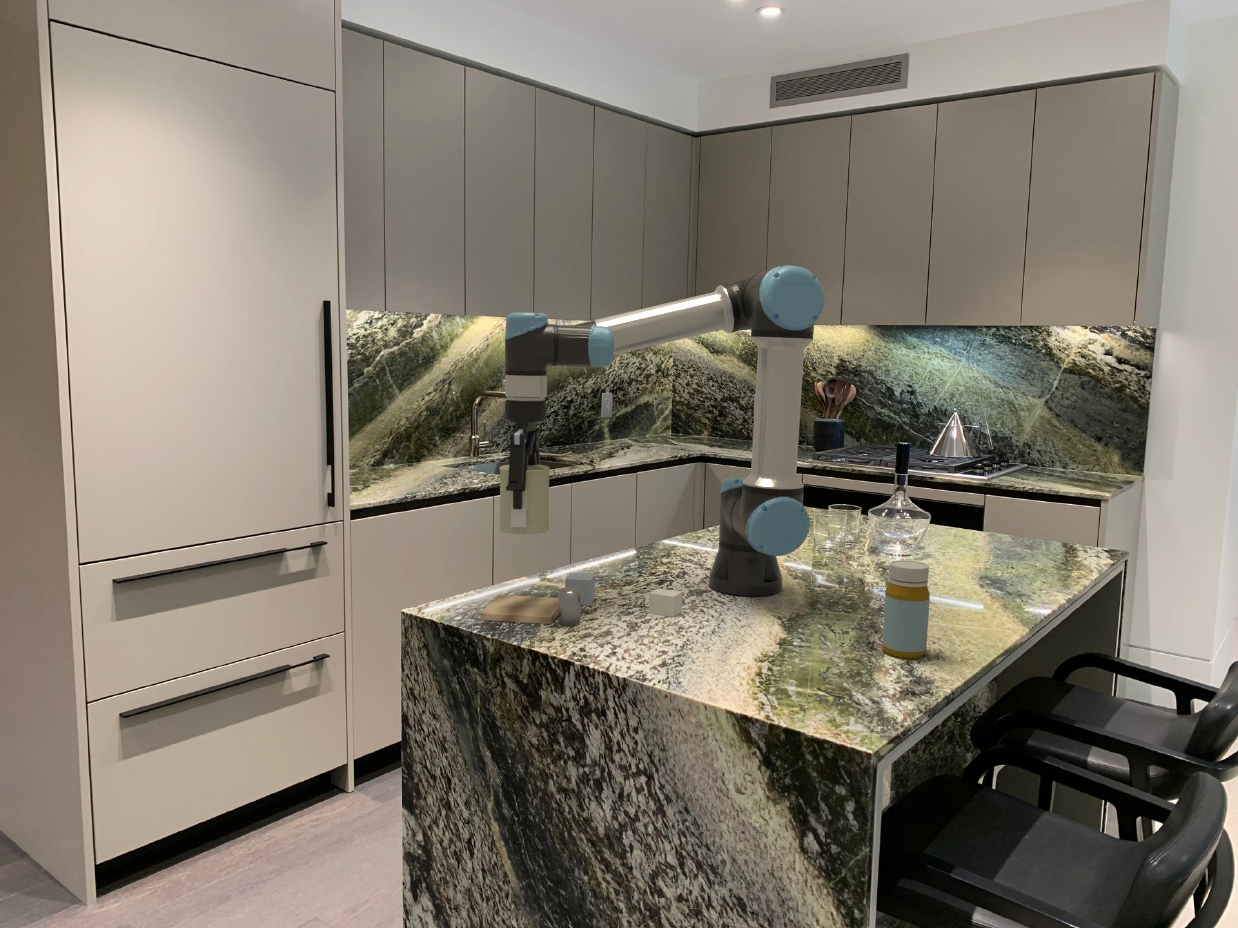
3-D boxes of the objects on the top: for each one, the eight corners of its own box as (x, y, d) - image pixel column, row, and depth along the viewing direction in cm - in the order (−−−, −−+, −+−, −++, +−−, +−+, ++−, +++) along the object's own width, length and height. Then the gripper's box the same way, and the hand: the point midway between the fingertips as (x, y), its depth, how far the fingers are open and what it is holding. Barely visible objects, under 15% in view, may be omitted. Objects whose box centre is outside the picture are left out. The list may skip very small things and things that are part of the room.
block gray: (594, 598, 189) (594, 574, 189) (590, 605, 184) (591, 580, 184) (569, 597, 190) (569, 572, 189) (564, 604, 185) (565, 578, 184)
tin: (582, 620, 175) (582, 587, 174) (578, 626, 171) (578, 593, 170) (560, 618, 175) (560, 586, 174) (556, 625, 171) (556, 592, 170)
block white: (681, 612, 181) (682, 591, 181) (673, 617, 178) (673, 596, 177) (657, 608, 184) (658, 588, 183) (648, 613, 180) (649, 592, 180)
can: (541, 535, 172) (542, 469, 170) (492, 532, 173) (492, 466, 172) (555, 526, 181) (555, 462, 179) (508, 523, 182) (508, 460, 181)
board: (564, 604, 185) (564, 598, 184) (551, 623, 172) (551, 617, 172) (498, 600, 186) (498, 594, 186) (480, 619, 173) (480, 613, 173)
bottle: (875, 646, 163) (881, 559, 161) (916, 646, 164) (921, 559, 162) (890, 659, 156) (896, 569, 154) (932, 659, 157) (938, 569, 155)
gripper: (518, 395, 185) (517, 510, 188) (489, 401, 164) (489, 532, 167) (557, 396, 184) (555, 512, 187) (533, 403, 163) (531, 534, 166)
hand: (524, 521), depth 177 cm, fingers closed on can, 9 cm apart
